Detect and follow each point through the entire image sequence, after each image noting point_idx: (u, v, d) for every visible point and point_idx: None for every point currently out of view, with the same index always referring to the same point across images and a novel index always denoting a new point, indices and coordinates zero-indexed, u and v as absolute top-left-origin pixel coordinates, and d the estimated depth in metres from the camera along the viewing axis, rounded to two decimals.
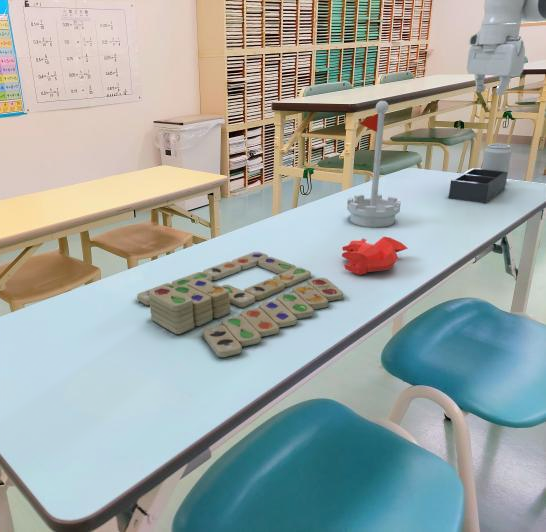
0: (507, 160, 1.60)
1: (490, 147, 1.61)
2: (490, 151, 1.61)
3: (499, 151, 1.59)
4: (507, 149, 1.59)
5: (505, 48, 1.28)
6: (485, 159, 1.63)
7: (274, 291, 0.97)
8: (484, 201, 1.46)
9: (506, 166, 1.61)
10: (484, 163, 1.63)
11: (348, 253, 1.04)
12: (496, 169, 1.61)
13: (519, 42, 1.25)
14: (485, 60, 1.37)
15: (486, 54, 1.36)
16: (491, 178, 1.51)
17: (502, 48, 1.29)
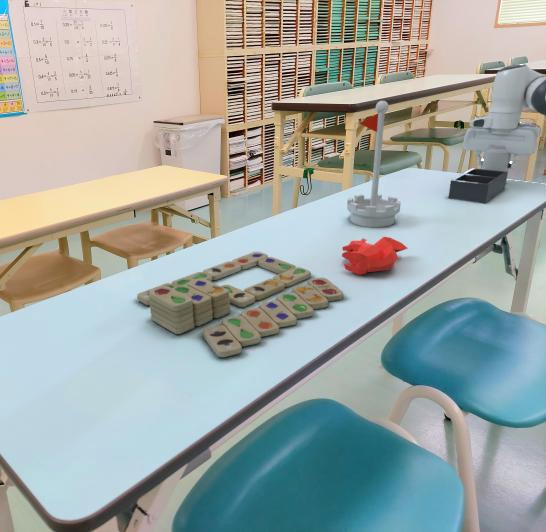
0: (507, 160, 1.60)
1: (490, 147, 1.61)
2: (490, 151, 1.61)
3: (499, 151, 1.59)
4: None
5: (525, 133, 1.54)
6: (485, 159, 1.63)
7: (274, 291, 0.97)
8: (484, 201, 1.46)
9: (506, 166, 1.61)
10: (484, 163, 1.63)
11: (348, 253, 1.04)
12: (496, 169, 1.61)
13: (538, 128, 1.53)
14: (493, 140, 1.60)
15: (493, 135, 1.60)
16: (491, 178, 1.51)
17: (520, 132, 1.55)
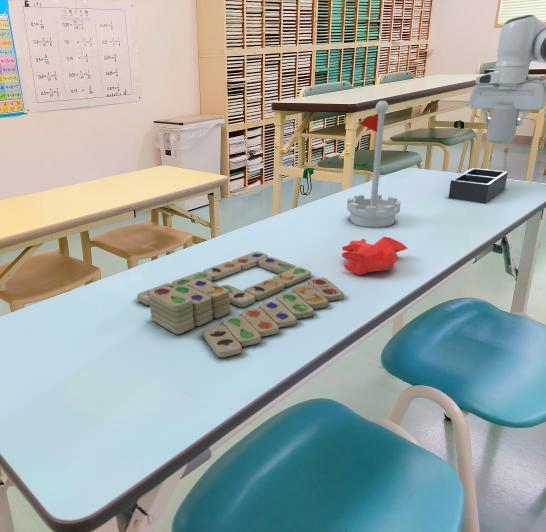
0: (515, 117, 1.54)
1: (497, 104, 1.56)
2: (497, 108, 1.55)
3: (506, 108, 1.53)
4: None
5: (533, 86, 1.49)
6: (492, 117, 1.57)
7: (274, 291, 0.97)
8: (484, 201, 1.46)
9: (514, 123, 1.55)
10: (491, 121, 1.58)
11: (348, 253, 1.04)
12: (504, 126, 1.55)
13: None
14: (500, 96, 1.55)
15: (500, 92, 1.55)
16: (491, 178, 1.51)
17: (528, 86, 1.49)
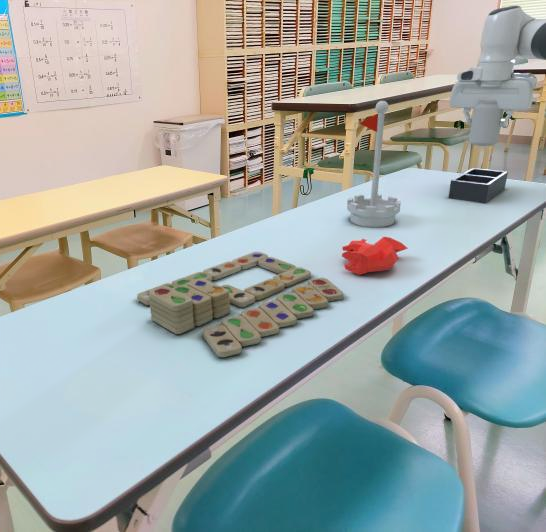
0: (499, 117, 1.42)
1: (480, 103, 1.43)
2: (480, 107, 1.43)
3: (489, 107, 1.41)
4: None
5: (518, 84, 1.36)
6: (474, 117, 1.45)
7: (274, 291, 0.97)
8: (484, 201, 1.46)
9: (498, 124, 1.43)
10: (473, 121, 1.45)
11: (348, 253, 1.04)
12: (486, 127, 1.43)
13: (534, 79, 1.35)
14: (483, 94, 1.42)
15: (483, 89, 1.42)
16: (491, 178, 1.51)
17: (513, 84, 1.37)
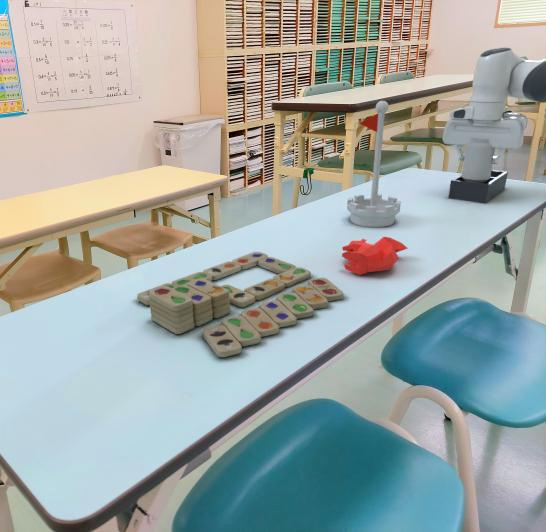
0: (491, 155, 1.44)
1: (472, 140, 1.45)
2: (472, 145, 1.45)
3: (481, 145, 1.43)
4: None
5: (509, 124, 1.39)
6: (467, 154, 1.47)
7: (274, 291, 0.97)
8: (484, 201, 1.46)
9: (490, 161, 1.45)
10: (466, 158, 1.48)
11: (348, 253, 1.04)
12: (479, 165, 1.45)
13: (524, 119, 1.37)
14: (475, 132, 1.45)
15: (475, 128, 1.45)
16: (491, 178, 1.51)
17: (504, 124, 1.39)
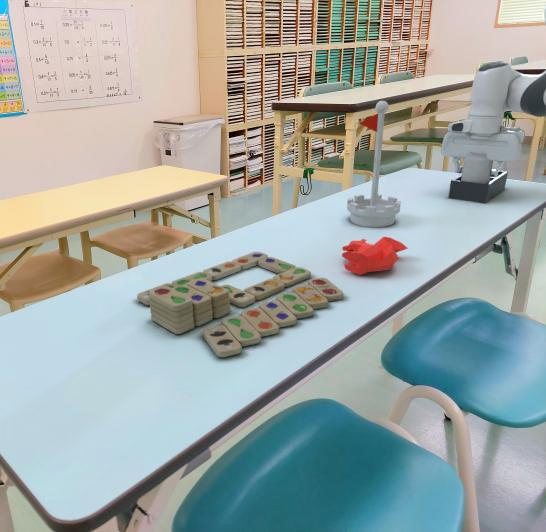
0: (488, 169, 1.46)
1: (470, 154, 1.47)
2: (470, 159, 1.47)
3: (479, 159, 1.45)
4: None
5: (507, 138, 1.40)
6: (465, 168, 1.49)
7: (274, 291, 0.97)
8: (484, 201, 1.46)
9: (487, 175, 1.47)
10: (464, 172, 1.49)
11: (348, 253, 1.04)
12: (476, 179, 1.47)
13: (522, 133, 1.39)
14: (473, 145, 1.46)
15: (473, 141, 1.46)
16: (491, 178, 1.51)
17: (502, 137, 1.41)
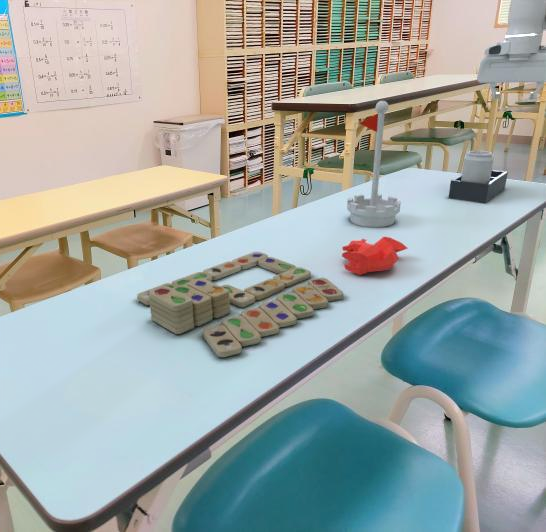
0: (488, 169, 1.46)
1: (470, 154, 1.47)
2: (470, 159, 1.47)
3: (479, 159, 1.45)
4: (488, 157, 1.45)
5: None
6: (465, 168, 1.49)
7: (274, 291, 0.97)
8: (484, 201, 1.46)
9: (487, 175, 1.47)
10: (464, 172, 1.49)
11: (348, 253, 1.04)
12: (476, 179, 1.47)
13: None
14: (511, 68, 1.45)
15: (511, 63, 1.45)
16: (491, 178, 1.51)
17: (542, 56, 1.39)
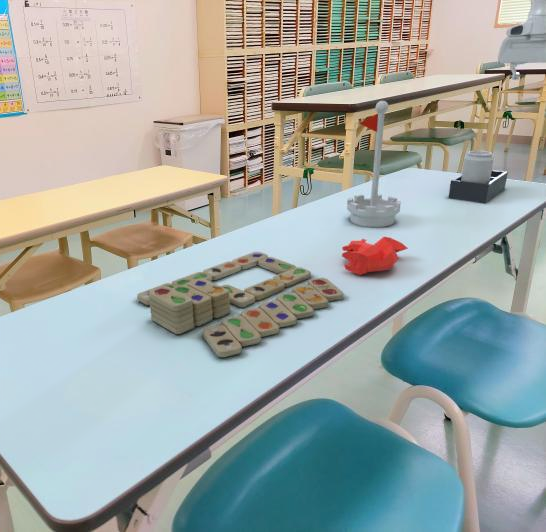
0: (488, 169, 1.46)
1: (470, 154, 1.47)
2: (470, 159, 1.47)
3: (479, 159, 1.45)
4: (488, 157, 1.45)
5: None
6: (465, 168, 1.49)
7: (274, 291, 0.97)
8: (484, 201, 1.46)
9: (487, 175, 1.47)
10: (464, 172, 1.49)
11: (348, 253, 1.04)
12: (477, 179, 1.47)
13: None
14: (532, 48, 1.48)
15: (532, 44, 1.48)
16: (491, 178, 1.51)
17: None
